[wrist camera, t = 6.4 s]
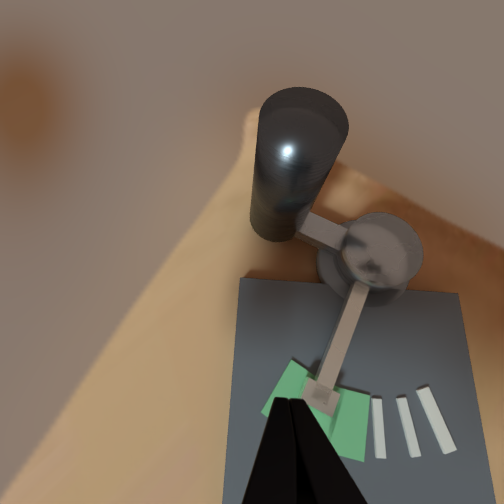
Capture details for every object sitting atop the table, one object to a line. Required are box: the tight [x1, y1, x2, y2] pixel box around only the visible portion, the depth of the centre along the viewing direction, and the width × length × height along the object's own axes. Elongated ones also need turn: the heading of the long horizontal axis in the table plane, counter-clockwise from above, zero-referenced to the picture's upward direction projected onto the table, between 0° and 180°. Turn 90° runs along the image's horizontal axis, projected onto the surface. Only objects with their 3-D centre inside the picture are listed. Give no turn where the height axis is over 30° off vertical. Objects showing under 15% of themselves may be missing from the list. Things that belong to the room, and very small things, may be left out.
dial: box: [250, 87, 423, 417], centre depth 14 cm, size 10×12×8 cm
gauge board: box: [222, 220, 496, 504], centre depth 18 cm, size 17×14×1 cm
